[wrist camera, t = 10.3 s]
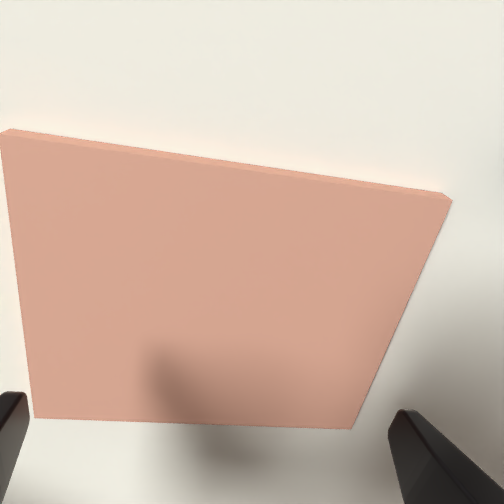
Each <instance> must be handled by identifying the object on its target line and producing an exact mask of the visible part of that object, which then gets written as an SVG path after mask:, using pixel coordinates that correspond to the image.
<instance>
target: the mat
mask: <svg viewBox="0 0 504 504" xmlns="http://www.w3.org/2000/svg"><path fill="white" fill-rule="evenodd" d="M0 150H1V158H2V166H3V173H4V181H5V189H6V197H7V205H8V213H9V221H10V229H11V237H12V244H13V252H14V260H15V268H16V276H17V284H18V292H19V300H20V308H21V315H22V323H23V331H24V339H25V347H26V355H27V363H28V371H29V379H30V386H31V394H32V402H33V410H34V418H44V419H72V420H100V421H128V422H156V423H184V424H212V425H240V426H268V427H296V428H324V429H351V428H352V426H353V424H354V422H355V419H356V417H357V415H358V413H359V410H360V408H361V406H362V404H363V401H364V399H365V397H366V395H367V392H368V390H369V388H370V386H371V383H372V381H373V379H374V377H375V374H376V372H377V370H378V368H379V365H380V363H381V361H382V359H383V356H384V354H385V352H386V350H387V347H388V345H389V343H390V341H391V338H392V336H393V334H394V332H395V329H396V327H397V325H398V323H399V320H400V318H401V316H402V313H403V311H404V309H405V307H406V304H407V302H408V300H409V298H410V295H411V293H412V291H413V289H414V286H415V284H416V282H417V280H418V277H419V275H420V273H421V271H422V268H423V266H424V264H425V262H426V259H427V257H428V255H429V253H430V250H431V248H432V246H433V244H434V241H435V239H436V237H437V235H438V232H439V230H440V228H441V226H442V223H443V221H444V219H445V217H446V214H447V212H448V210H449V208H450V205H451V203H452V201H453V200H451V199H450V198H448V197H447V196H445V195H444V194H442V193H438V192H431V191H424V190H418V189H411V188H404V187H398V186H391V185H384V184H377V183H371V182H364V181H357V180H351V179H344V178H337V177H330V176H324V175H317V174H310V173H304V172H297V171H290V170H284V169H277V168H270V167H263V166H257V165H250V164H243V163H237V162H230V161H223V160H216V159H210V158H203V157H196V156H190V155H183V154H176V153H170V152H163V151H156V150H149V149H143V148H136V147H129V146H123V145H116V144H109V143H102V142H96V141H89V140H82V139H76V138H69V137H62V136H55V135H49V134H42V133H35V132H29V131H22V130H15V129H8V130H6V131H4V132H1V133H0Z"/></svg>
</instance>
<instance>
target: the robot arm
mask: <svg viewBox="0 0 504 504" xmlns="http://www.w3.org/2000/svg"><path fill="white" fill-rule="evenodd" d="M29 419H30V416H29V408H28V401H27V396H26V394H25V393H24V392H13V391H7V392H4V393H2V394H1V395H0V504H1V503H2V501H3V499H4V496H5V493H6V490H7V488H8V485H9V482H10V479H11V476H12V473H13V470H14V467H15V464H16V461H17V458H18V455H19V452H20V449H21V446H22V444H23V441H24V438H25V435H26V432H27V429H28V425H29ZM388 440H389V444H390V448H391V452H392V456H393V461H394V465H395V469H396V473H397V477H398V481H399V485H400V489H401V493H402V497H403V500H404V503H405V504H504V489H502V488H501V487H500V486H499V485H498V484H497V483H496V482H495V481H494V480H492V479H491V478H490V477H489V476H488V475H487V474H486V473H485V472H484V471H483V470H481V469H480V468H479V467H478V466H477V465H476V464H475V463H474V462H473V461H471V460H470V459H469V458H468V457H467V456H466V455H465V454H464V453H463V452H462V451H460V450H459V449H458V448H457V447H456V446H455V445H454V444H453V443H452V442H450V441H449V440H448V439H447V438H446V437H445V436H444V435H443V434H442V433H440V432H439V431H438V430H437V429H436V428H435V427H434V426H433V425H432V424H431V423H429V422H428V421H427V420H426V419H425V418H424V417H423V416H422V415H421V414H419V413H418V412H417V411H415V410H409V409H400V410H399V411H398V412H397V414H396V416H395V418H394V419H393V421H392V423H391V425H390V427H389V430H388Z"/></svg>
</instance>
